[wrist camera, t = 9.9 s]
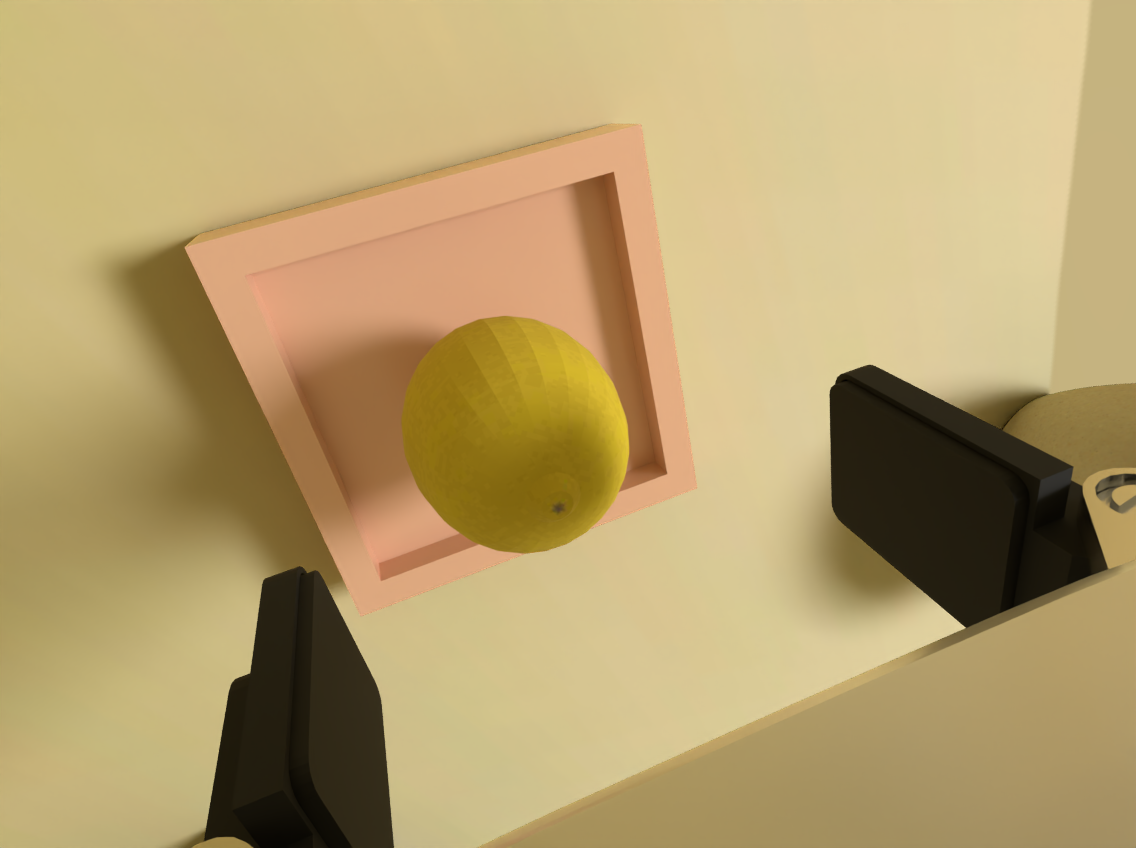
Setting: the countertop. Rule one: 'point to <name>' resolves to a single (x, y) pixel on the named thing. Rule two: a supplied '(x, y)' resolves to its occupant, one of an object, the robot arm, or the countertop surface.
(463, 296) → the dish
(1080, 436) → the flower pot
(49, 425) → the countertop surface
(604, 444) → the lemon
